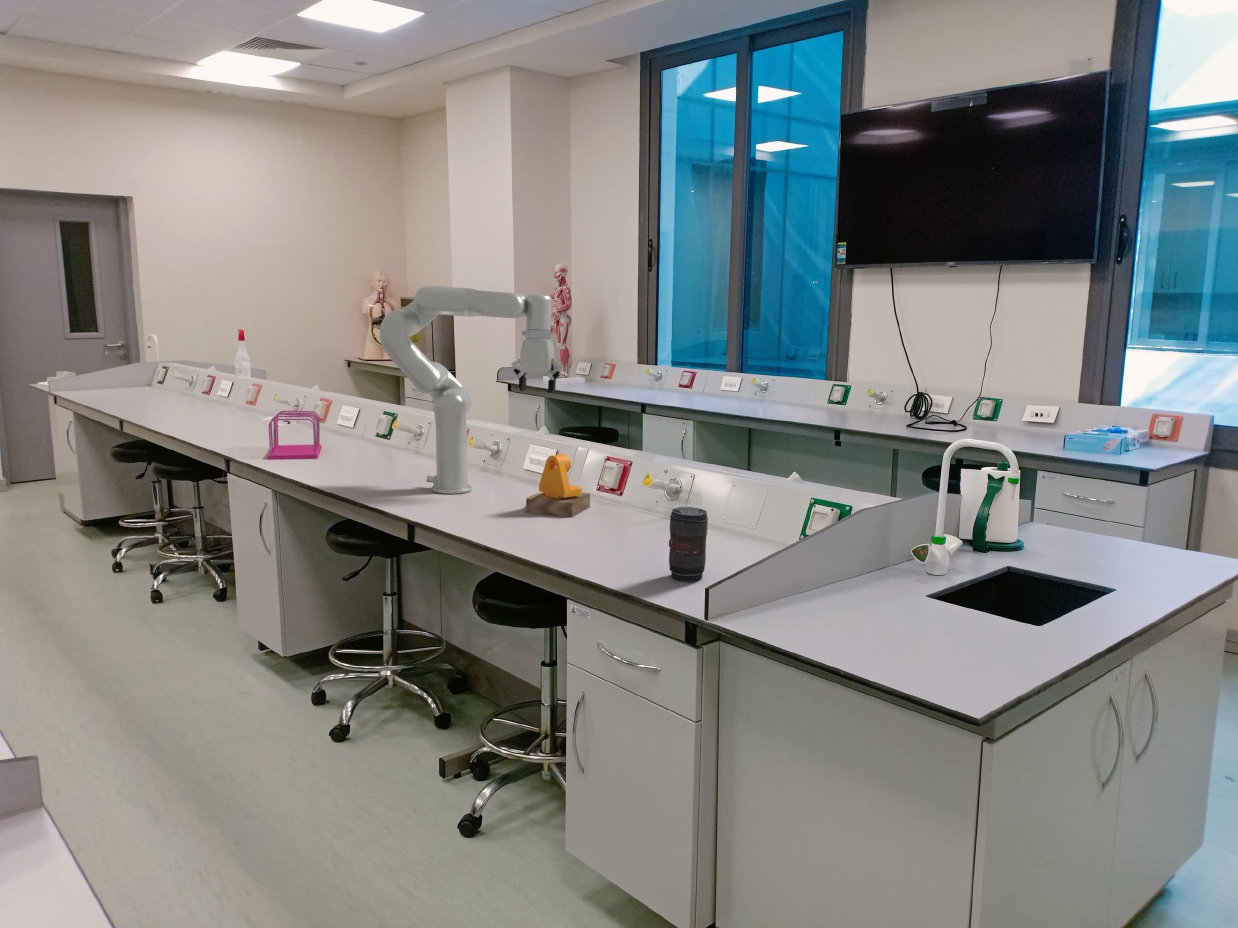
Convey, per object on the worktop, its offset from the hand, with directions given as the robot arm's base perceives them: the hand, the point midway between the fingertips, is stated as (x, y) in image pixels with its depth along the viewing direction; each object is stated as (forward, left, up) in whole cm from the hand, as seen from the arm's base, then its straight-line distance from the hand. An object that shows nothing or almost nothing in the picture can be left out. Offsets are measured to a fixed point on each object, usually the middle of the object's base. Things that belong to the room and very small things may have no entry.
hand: (536, 391), depth 278 cm
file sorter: (-113, +29, -32) cm, 121 cm away
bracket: (+16, -20, -28) cm, 38 cm away
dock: (+16, -20, -32) cm, 41 cm away
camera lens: (+67, -71, -32) cm, 103 cm away
